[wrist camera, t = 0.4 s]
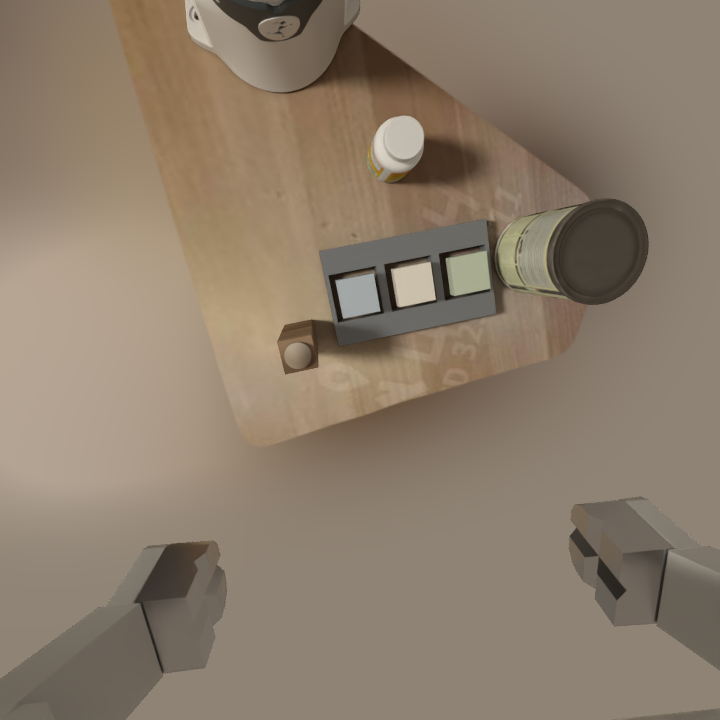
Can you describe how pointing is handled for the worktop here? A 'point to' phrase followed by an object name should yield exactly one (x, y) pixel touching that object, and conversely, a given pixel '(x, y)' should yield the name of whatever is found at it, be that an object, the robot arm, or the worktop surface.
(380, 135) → the supplement bottle
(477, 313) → the keypad
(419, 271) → the key mid
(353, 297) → the key
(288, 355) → the wooden pepper mill
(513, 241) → the coffee can
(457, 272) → the key
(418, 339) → the worktop surface
